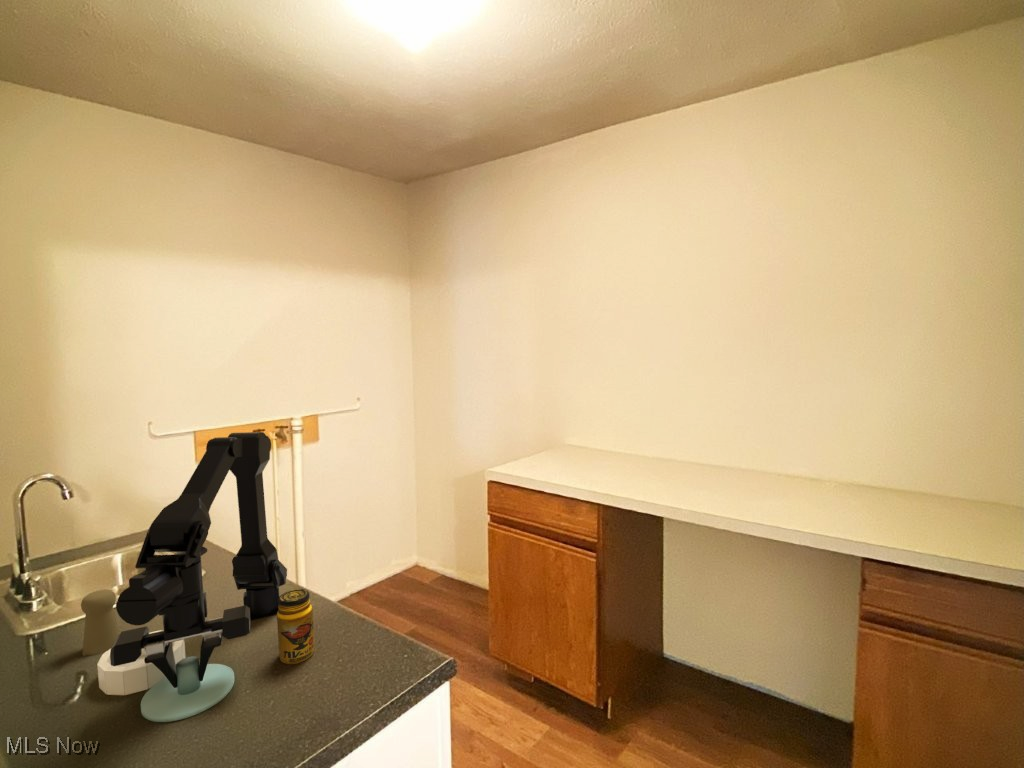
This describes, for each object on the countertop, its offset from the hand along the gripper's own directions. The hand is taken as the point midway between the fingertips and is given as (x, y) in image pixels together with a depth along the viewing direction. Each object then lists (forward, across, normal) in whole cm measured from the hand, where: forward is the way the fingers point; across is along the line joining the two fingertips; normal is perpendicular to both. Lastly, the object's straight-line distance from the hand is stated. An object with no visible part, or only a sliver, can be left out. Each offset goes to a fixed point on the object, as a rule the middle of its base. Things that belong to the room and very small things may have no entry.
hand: (188, 683), depth 84 cm
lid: (+2, 0, 0) cm, 2 cm away
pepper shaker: (+2, +17, -24) cm, 30 cm away
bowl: (+2, +8, -10) cm, 13 cm away
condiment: (+2, -16, -4) cm, 17 cm away
